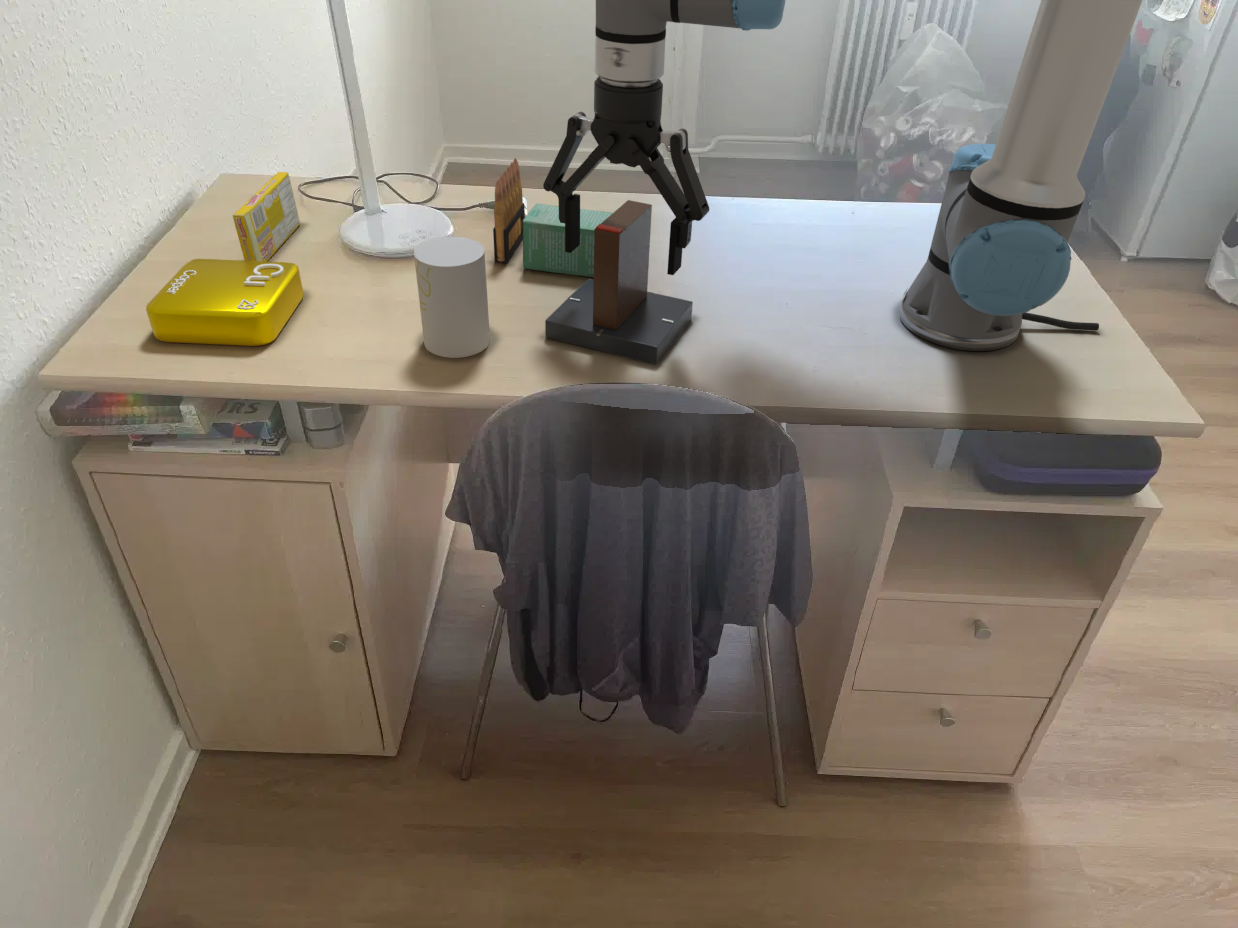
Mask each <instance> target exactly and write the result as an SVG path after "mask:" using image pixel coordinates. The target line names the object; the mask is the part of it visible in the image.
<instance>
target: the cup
mask: <svg viewBox="0 0 1238 928" xmlns="http://www.w3.org/2000/svg"><path fill="white" fill-rule="evenodd" d="M413 257H414V266H415V267H414V268H415V274H416V283H417V292H418V302H419V310H420V311H419V312H420V318H421V320H420V321H421V327H422V336H423V345H424V347H425V349H426V350H427V351H428V352H429V353H431V354H433V355H435V356H438V357H443V358H448V359H449V358H450V359H460V358H467V357H471V356H474V355H477V354H480V353H481V352H483V351H484V350H486V349H487V347H489V345H490V342H491V331H490V316H489V301H488V299H489V298H488V286H487V285H488V284H487V271H486V270H487V269H486V253H485V247H484V245H482V243H480V242H479V241H477V240H475V239H472V238H468V237H463V236H442V237H437V238H432V239H428V240H426V241H423V242H422V243H420V244H418V245H417V246H416V247H415V248H414V250H413Z"/></svg>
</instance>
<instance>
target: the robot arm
mask: <svg viewBox="0 0 1238 928" xmlns="http://www.w3.org/2000/svg"><path fill="white" fill-rule="evenodd" d="M1142 3H1143V0H1040V3H1039V6H1038V10H1037V11H1036V16H1035V19H1034V22H1033V25H1032V28H1031V32H1030V35H1029V38H1028V41H1027V45H1026V48H1025V51H1024V53H1023V57H1022V60H1021V63H1020V67H1019V69H1018V72H1017V75H1016V79H1015V82H1014V85H1013V89H1012V92H1011V95H1010V98H1009V102H1008V104H1007V106H1006V107H1007V108H1006V111H1005V114H1004V118H1003V119H1002V123H1001V126H1000V130H999V133H998V137H997V139H996V142H995V143H971V144H967V145H963V146H961V147H960V148H959V149H957V150H956V152H955V153H954V155H953V158H952V162H951V165H950V167H948V169H947V173H948V176H947V181H946V186H945V189H944V193H943V195H942V197H943V198H942V201H941V204H940V209H939V212H938V217H937V220H936V224H935V228H934V230H933V231H934V232H933V235H932V240H931V243H930V248H929V252H928V255H927V259H926V262H925V263H924V265H923V266H922V268H921V269H920V270H919V272H918V274H917V275H916V277H915V278H914V280H913V282H912V283H911V285H910V286H909V287H907V288H906V289H905V291H904V292H903V295H902V298H901V302H900V309H899V318H900V320H901V322H902V323H903V325H904V326H905V327H906V328H907V329H908V330H909V331H911V332H912V333H913V334H915V335H916V336H918V337H920V338H921V339H924V340H926V341H927V342H931V343H933V344H936V345H939V346H942V347H946V348H949V349H955V350H959V351H969V352H970V351H971V352H985V351H987V352H988V351H994V350H999V349H1003V348H1006V347H1008V346H1010V345H1011V344H1013V343H1014V342H1015V341H1016V340H1017V338H1018V336H1019V333H1020V330H1021V328H1022V325H1023V321H1029V322H1035V323H1039V324H1040V323H1041V324H1044V325H1049V326H1053V327H1058V328H1060V329H1061V328H1062V329H1066V330H1067V329H1068V330H1077V331H1078V330H1079V331H1099V328H1100V324H1099V322H1078V321H1070V320H1063V319H1059V318H1055V317H1051V316H1047V315H1042V314H1035V313H1031V310H1034V309H1037V308H1039V307H1042V306H1044V305H1046V304H1047V303H1048V302H1049V301H1051V300H1052V299H1054V297H1056V295H1057V294H1058V293H1059V292H1060V291H1061V290H1062V288H1063V287H1064V285H1065V284H1066V282H1067V280H1068V277H1069V276H1070V275H1069V274H1070V271H1071V261H1072V250H1071V247H1070V245H1069V240H1070V238H1071V235H1072V232H1073V229H1074V227H1075V225H1076V222H1077V219H1078V216H1079V214H1080V211H1081V208H1082V206H1083V204H1084V201H1085V198H1086V191H1085V188H1084V187H1083V186H1082V184H1081V182H1080V180H1079V179H1078V178H1079V177H1078V173H1079V170H1080V168H1081V165H1082V162H1083V160H1084V157H1085V154H1086V152H1087V149H1088V147H1089V144H1090V140H1091V139H1092V136H1093V134H1094V130H1095V128H1096V126H1097V122H1098V120H1099V118H1100V114H1101V113H1102V109H1103V106H1104V105H1105V101H1106V99H1107V96H1108V93H1109V90H1110V88H1111V86H1112V83H1113V81H1114V80H1113V79H1114V77H1115V75H1116V73H1117V69H1118V67H1119V64H1120V62H1121V59H1122V56H1123V53H1124V51H1125V48H1126V46H1127V44H1128V40H1129V37H1130V35H1131V32H1132V29H1133V27H1134V25H1135V21H1136V19H1137V16H1138V14H1139V11H1140V8H1141V6H1142ZM785 5H786V0H595V28H594V29H595V30H594V32H595V33H594V34H595V36H594V37H595V38H594V73H595V74H596V75H597V77H596V79H595V80H594V82H593V83H594V85H593V112H594V118H591V117H589V116H588V117H587V115H586V113H585V112H583V111H579V112H576V113H575V114H574V115H572V116H571V117H569V118H568V119H567V125H566V126H567V127H566V136H565V138H564V140H563V142H562V144H561V146H560V148H559V150H558V152H557V155H556V157H555V158H554V161H553V163H552V165H551V166H550V169H549V171H548V174H547V176H546V177H545V179H544V182H543V183H542V184H543V189H544V190H545V191H546V192H551V193H553V194H555V195H556V196H557V198H558V206H559V221H560V223H564V224H565V252H568V253H571V252H572V251H573V250H575V249H576V248H577V247H578V246H579V245H580V209H581V194H578V193H574V192H575V191H576V190H577V189H578V188H579V186H580V185H582V183H583V182H584V181H585V180H586V179H587V178H588V177H589V176H590V174H591V173H592V172H593V171H594V170H595V169H596V168H597V167H598V166H599V165H600V164H601V163H602V161H603V160H605V159H607V160H608V161H609V163H610V164H614V165H620V164H623V165H625V166H627V167H629V168H636V167H640V168H641V171H643V173H644V174H645V175H648V177H649V178H650V180H651V181H652V183H653V184H654V186H655V188H656V189H657V191H658V192H659V194H660V195H661V196H662V199H663V200H664V201H665V203H666V204H667V206H668V208H669V209H670V211H671V212H672V213H673V214H674V217H675V218H674V219H672V220H671V222H670V227H669V228H670V230H669V241H668V242H669V243H668V244H669V245H668V256H667V257H668V259H667V270H666V271H667V273H666V274H667V275H669V276H675V274H676V273H677V272H678V271H679V270H680V268H681V267H682V259H683V249H686V248H687V247H688V245H689V244H690V243H691V242H692V230H693V222H694V221H697V222H700V221H702V220H703V218H704V217H706V215H707V214H708V213H709V212H710V206H709V203H708V200H707V198H706V194H705V192H704V189H703V186H702V183H701V181H700V178H699V175H698V172H697V170H696V167H695V164H694V162H693V159H692V156H691V153H690V150H689V134H688V131H687V130H686V129H685V128H680V129H678V130H677V131H672V130H671V131H670V130H669V131H668V130H663V127H662V123H661V122H662V121H661V119H662V112H663V111H662V109H663V93H664V84H663V81H662V80H661V78H662V77H663V76H664V75H665V58H666V57H665V56H666V55H665V54H666V36H667V24H668V23H675V24H692V25H700V26H701V25H702V26H711V27H721V28H730V29H740V30H741V31H747V32H749V31H751V30H774V29H776V28H777V27H778V26H779V25H780V24H781V22H782V21H783V17H784V11H785ZM589 132H591V133H590V134H591V135H592V137H593V138H594V140H595V142H596V144H597V146H596V147H595V148H594V149H593V150H592V151H591V152H590V154H589V155H588V156H587V157H586V158H585V160H584V161H583V162H582V163H581V164H580V165H579V166H578V167H577V168H576V170H575V171H574V172H573V173H572V174H571V175H570V177H568V179H567V180H566V181H564V180H563V179H564V177H565V175H566V173H567V172H568V169H569V167H570V165H571V163H572V161H573V159H574V156H575V155H576V153H577V150H578V149H579V147H580V145H581V143H582V141H583V138H584V137H585V136H586V135H588V134H589ZM661 144H663V145H664V146H665V150H666V151H667V152H669V153H670V158H671V162H672V164H673V165H672V166H673V167H674V170H675V173H676V176H677V178H678V181H679V183H680V185H679V183H677V181H676V179H675V178H674V176H673V174H672V172H671V171H670V170H669V168H668V167H667V165H666V163H665V158H664V157H663V155H662V153H661V151H660V150H659V146H660V145H661ZM680 186H681V187H680Z"/></svg>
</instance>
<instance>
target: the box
mask: <svg viewBox="0 0 1238 928" xmlns="http://www.w3.org/2000/svg"><path fill="white" fill-rule="evenodd" d="M613 213H614V212H612V211H611V212H610V211H601V210H593V209H585V208H580V245H579V246H578V247H577V248H576V249H575V250H573V251H572V252H571V253H568V252H565V224H564V223H560V221H559V205H553V204H544V203H538V202H537V203H535V204H534V205H533V206H532V208H531V209H530V211H529V212H528V213H527V215H525V218H524V219H523V240H522V255H523V256H522V262H523V263H522V267H523V269H526V270H533V271H541V272H548V273H557V274H563V275H564V274H565V275H572V276H580V277H581V276H582V277H589V278H594V229H595V228H596V227H597V226H598V225H599V224H601V223H602V222H603V221H604V220H606V219H607V218H608V217H609V216H610V215H611V214H613Z"/></svg>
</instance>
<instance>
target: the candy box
mask: <svg viewBox="0 0 1238 928" xmlns="http://www.w3.org/2000/svg"><path fill="white" fill-rule="evenodd" d="M292 186H293V185H292V183H291V177H290V175H289V172H288V171H278V172H277V173H275V174H274V175H273V176H272V177H271V178H270V179H269V180H268V181H267V182H266V183H265V184H264V185H263V186H262V187H261V188H260V189H258V191H256V193H254V194H253V195H252V197H250V198H249V199H248V200H247V201H246V202H245V203H244V204H243V205H242V206H241V207H240V208H239V209H238V210H237V211H235V213H233V214H232V218H233V219H232V220H233V222H234V223H233V224H234V226H235V230H236V234H237V238H238V242H239V245H240V248H241V252H242V256H243V259H244V260H243V261H265V262H269V260H270V259H271V258H272V257H273V255H274V254H275V253H276V252H277V251H278V250H279V249H280V248H281V247H282V245H283V244H284V243H285V242H286V241H287V240H288V239H289V238H290V236H292V234H293V233H294V232H295V231H296V230H297V229H298V228H299V226H301V220H300V216H299V212H298V208H297V203H296V199H295V196H294V190H293V187H292Z"/></svg>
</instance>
